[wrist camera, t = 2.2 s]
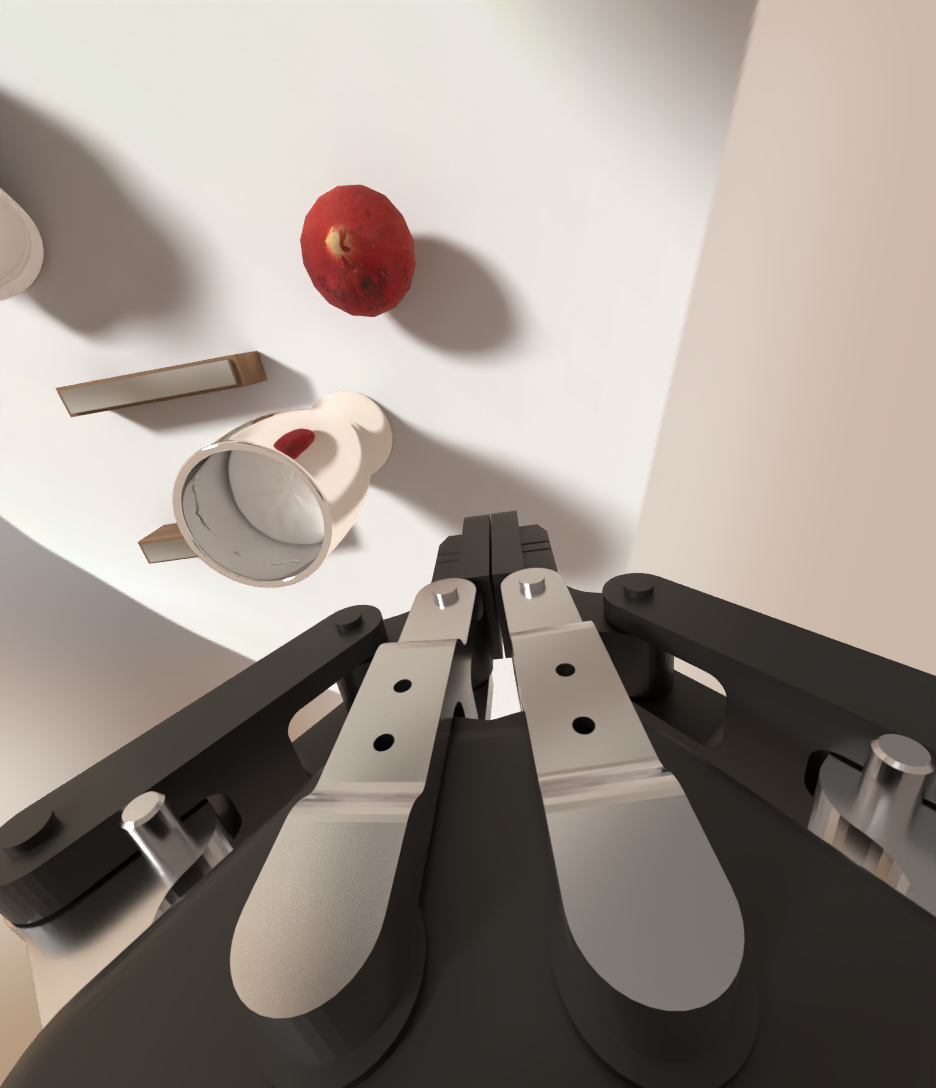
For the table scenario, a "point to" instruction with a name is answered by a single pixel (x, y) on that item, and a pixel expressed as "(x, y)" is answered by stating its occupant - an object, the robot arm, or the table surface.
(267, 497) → the beer glass
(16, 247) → the spread jar
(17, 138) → the table surface
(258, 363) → the cradle
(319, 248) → the onion
